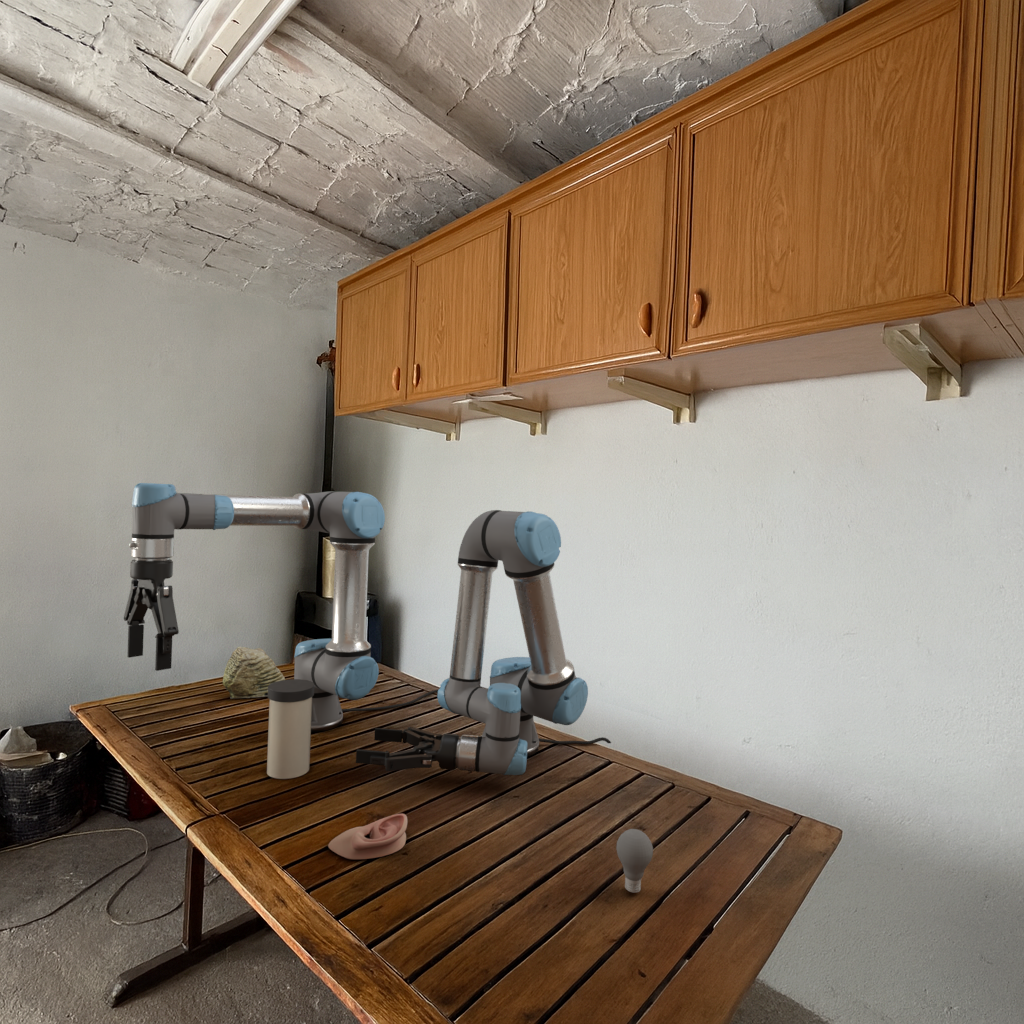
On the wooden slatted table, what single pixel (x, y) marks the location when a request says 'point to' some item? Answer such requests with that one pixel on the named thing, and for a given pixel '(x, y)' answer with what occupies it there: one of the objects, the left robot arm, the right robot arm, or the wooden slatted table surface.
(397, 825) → the anatomical model
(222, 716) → the wooden slatted table surface
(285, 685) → the lid
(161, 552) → the left robot arm
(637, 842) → the light bulb
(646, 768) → the wooden slatted table surface
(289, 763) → the jar
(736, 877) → the wooden slatted table surface
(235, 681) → the fossil
